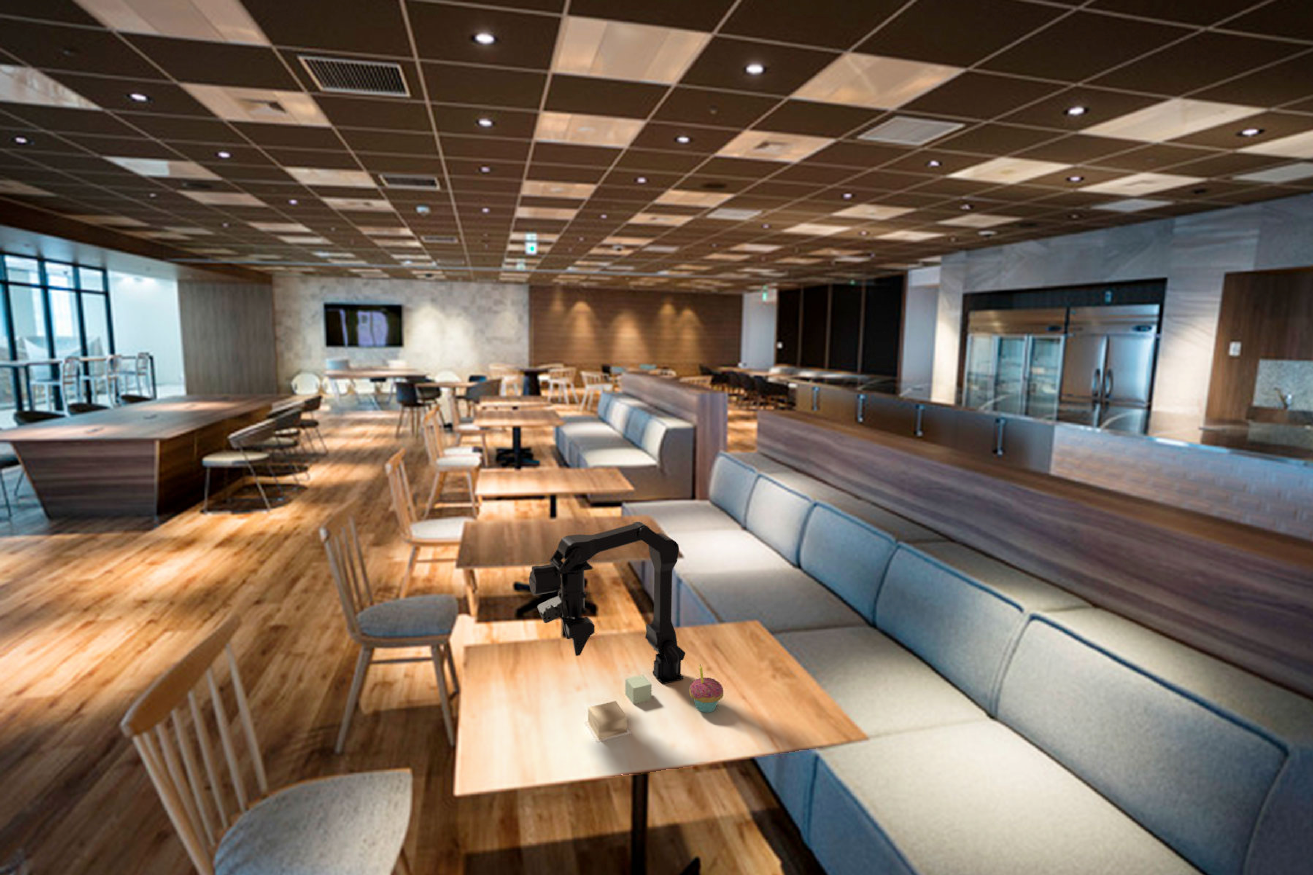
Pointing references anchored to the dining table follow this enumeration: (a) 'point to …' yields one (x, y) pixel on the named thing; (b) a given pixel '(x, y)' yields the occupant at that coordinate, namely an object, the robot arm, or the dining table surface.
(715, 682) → the cupcake
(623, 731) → the maple block
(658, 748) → the dining table surface
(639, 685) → the green cube
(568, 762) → the dining table surface
